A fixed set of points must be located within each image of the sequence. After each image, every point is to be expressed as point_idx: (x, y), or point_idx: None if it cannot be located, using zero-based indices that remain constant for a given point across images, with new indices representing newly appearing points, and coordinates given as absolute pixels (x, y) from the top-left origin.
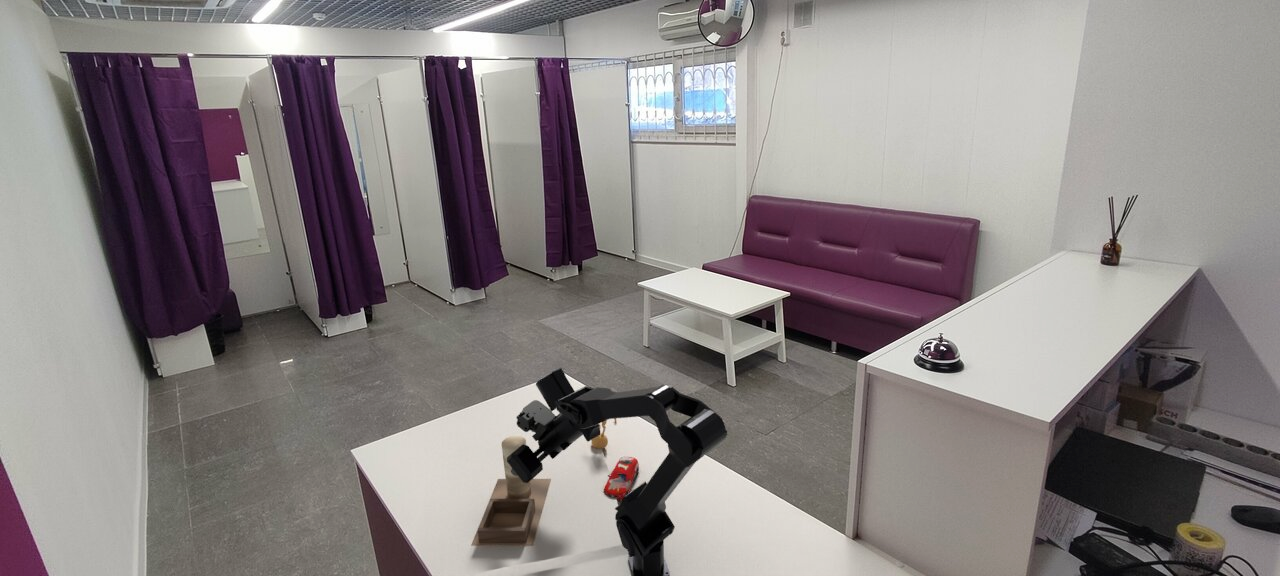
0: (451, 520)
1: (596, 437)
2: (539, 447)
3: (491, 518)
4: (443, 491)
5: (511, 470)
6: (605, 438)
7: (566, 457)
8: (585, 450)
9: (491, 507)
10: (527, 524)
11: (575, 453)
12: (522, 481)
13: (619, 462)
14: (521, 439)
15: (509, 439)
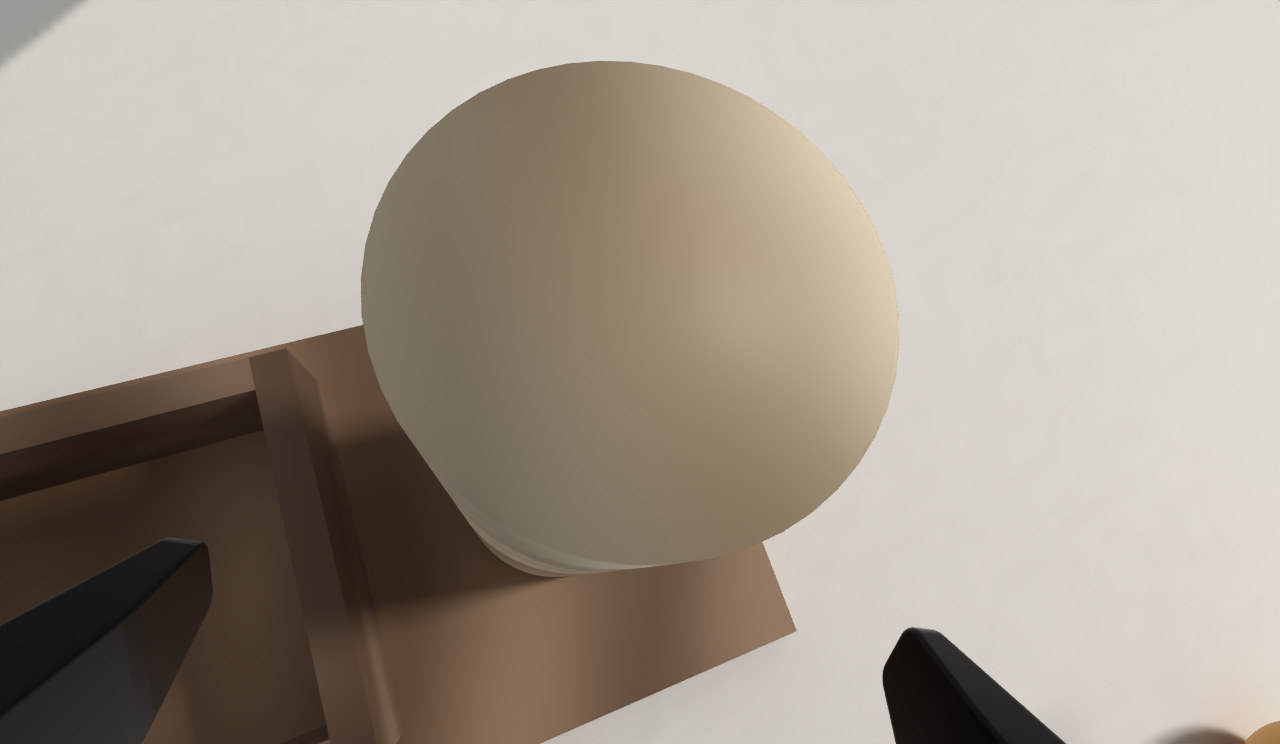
0: (225, 170)
1: None
2: (908, 646)
3: (189, 441)
4: (470, 13)
5: (99, 581)
6: None
7: (1053, 577)
8: (1180, 675)
9: (188, 412)
10: None
11: (1118, 618)
12: (500, 554)
13: None
14: (805, 390)
15: (706, 157)
